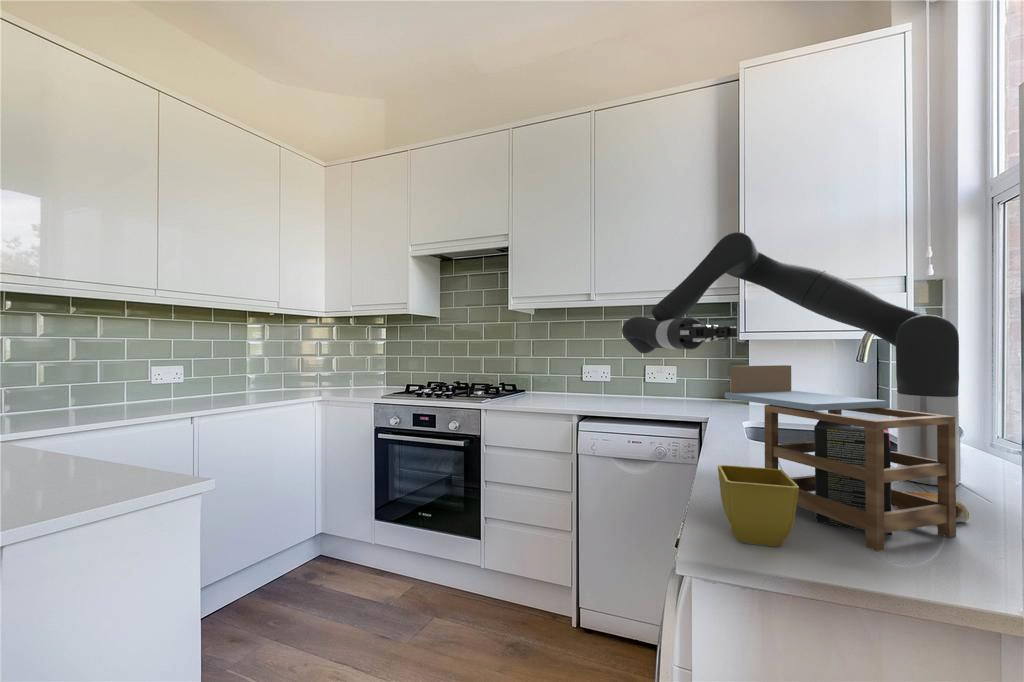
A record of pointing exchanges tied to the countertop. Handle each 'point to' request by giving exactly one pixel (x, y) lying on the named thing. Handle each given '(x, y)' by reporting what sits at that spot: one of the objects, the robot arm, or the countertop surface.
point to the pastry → (961, 510)
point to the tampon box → (849, 449)
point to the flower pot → (758, 503)
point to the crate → (875, 472)
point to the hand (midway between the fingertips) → (733, 331)
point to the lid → (786, 390)
